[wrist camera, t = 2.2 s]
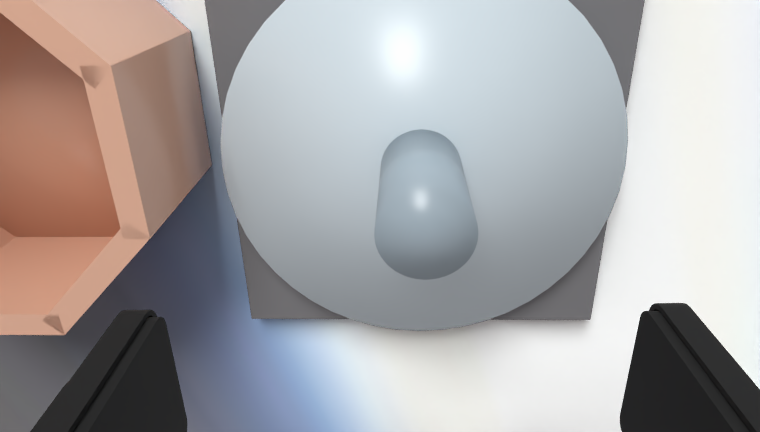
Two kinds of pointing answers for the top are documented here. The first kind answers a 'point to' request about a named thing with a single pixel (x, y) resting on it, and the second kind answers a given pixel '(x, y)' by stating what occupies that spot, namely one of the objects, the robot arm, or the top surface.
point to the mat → (280, 301)
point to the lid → (423, 153)
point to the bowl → (88, 148)
